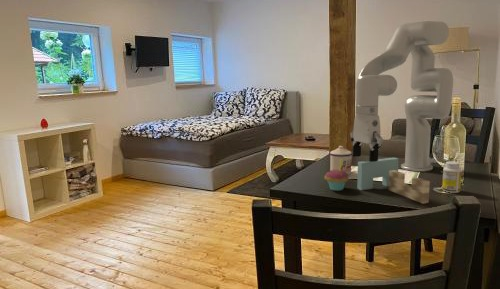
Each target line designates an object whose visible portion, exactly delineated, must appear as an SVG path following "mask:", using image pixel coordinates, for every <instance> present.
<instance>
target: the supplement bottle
mask: <svg viewBox="0 0 500 289" xmlns="http://www.w3.org/2000/svg"><path fill="white" fill-rule="evenodd" d="M442 170H443V172H442V184H441V185H442V186H441V189H442V191H443V192H445V191H446V192H445V193H448V192H450V193H449V194H458V193H460V192H461V185H462V183H461V182H462V168H460V162H458V161H449V160H448V161H446V162H445V167H443V169H442Z"/></svg>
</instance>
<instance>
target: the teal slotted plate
mask: <svg viewBox="0 0 500 289" xmlns="http://www.w3.org/2000/svg"><path fill="white" fill-rule="evenodd" d="M399 161H400V160H399V158H398V157H388V158H387V157H386V158H378V161H374V162H370V161H369V160H362V161H357V188H356V189H358V190H359V191H365V190H371V189H374V179H378V178H382V181H381V182H382V184H381V185H382V186H384V187H389V171H393V170H396V171H399V163H400V162H399Z"/></svg>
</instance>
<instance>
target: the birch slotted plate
mask: <svg viewBox="0 0 500 289" xmlns="http://www.w3.org/2000/svg"><path fill="white" fill-rule="evenodd" d="M405 174H406V173H405V172H402V171H399V170H398V171H396V170H393V171H389V186H388V191H390V192H393V193H395V194H397V195H400V196H402V197H405V198H407V199H410V200H411V201H412V200H413V201H415V202H417V203H420V204H422V205H423V204H429V202H430V201H429V199H430V183H431V181H430V180H426V179H424V178H421V177H413V178H411V184H410V185H409V184H408V183H407V184H406V183H405V181H406V180H405V179H406V176H405Z"/></svg>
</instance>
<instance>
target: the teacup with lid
mask: <svg viewBox="0 0 500 289" xmlns="http://www.w3.org/2000/svg"><path fill="white" fill-rule="evenodd" d="M329 155H330V162H329V163H330V165H329V166H330V168H329V171H332V170H336V169H339V167H340V161H341V159H343V160H342V166H341V170H342V171H344V172H346V173H347V174H348V176H349V175H351V174H352V160H353V151H350V150H348V149H347V148H344V146H343V145H338V148H336V149H335V148H334V150H331V151H330V153H329ZM342 157H343V158H342Z"/></svg>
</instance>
